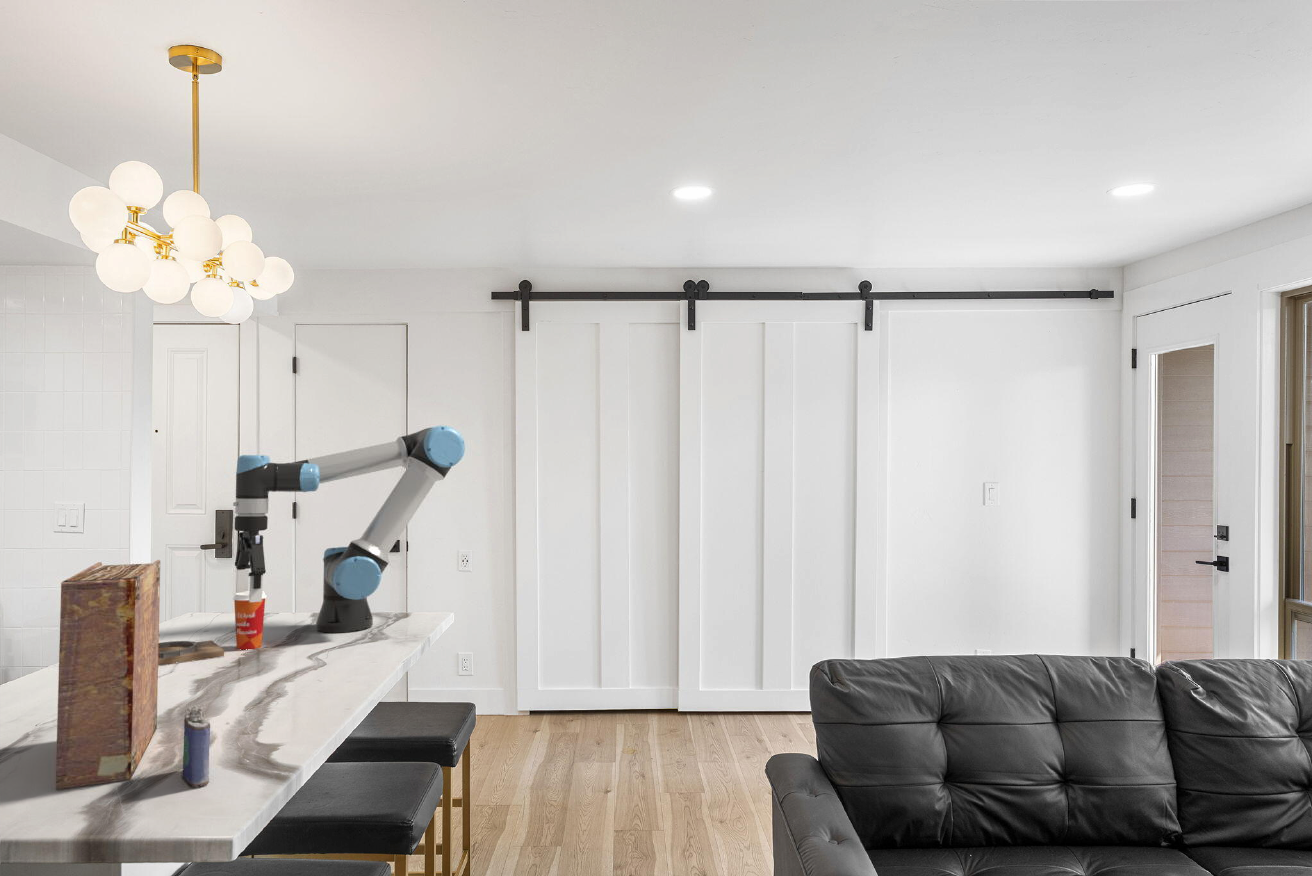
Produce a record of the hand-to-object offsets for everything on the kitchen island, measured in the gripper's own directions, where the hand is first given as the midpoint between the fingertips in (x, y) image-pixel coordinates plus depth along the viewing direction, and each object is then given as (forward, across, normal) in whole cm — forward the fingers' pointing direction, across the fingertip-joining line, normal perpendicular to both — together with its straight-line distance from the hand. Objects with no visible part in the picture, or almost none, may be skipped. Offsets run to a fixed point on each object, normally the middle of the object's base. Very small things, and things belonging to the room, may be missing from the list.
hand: (248, 598), depth 199 cm
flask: (+13, +85, -26) cm, 90 cm away
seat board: (+13, -1, -18) cm, 22 cm away
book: (+13, +66, -35) cm, 76 cm away
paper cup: (+13, 0, 0) cm, 13 cm away
